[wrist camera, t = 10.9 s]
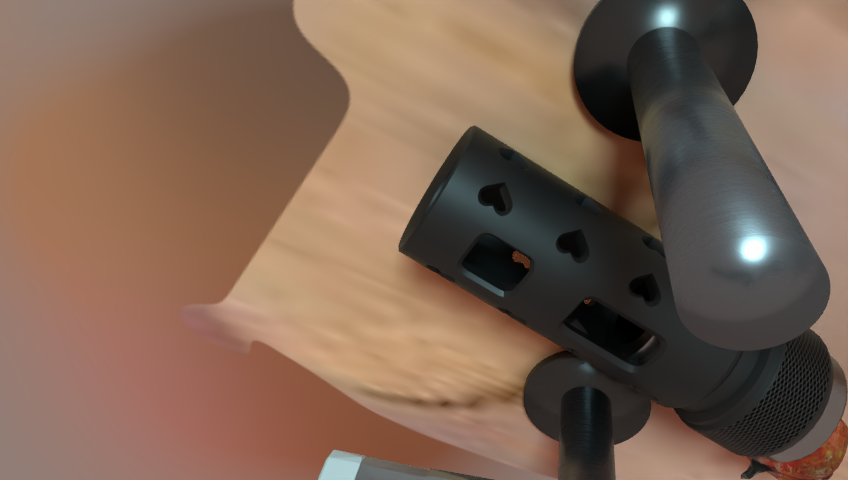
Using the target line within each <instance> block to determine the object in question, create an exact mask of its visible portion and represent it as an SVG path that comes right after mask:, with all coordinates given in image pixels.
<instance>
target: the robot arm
mask: <svg viewBox="0 0 848 480" xmlns="http://www.w3.org/2000/svg"><path fill="white" fill-rule="evenodd" d="M318 480H493V479H487V478H481V477H475V476H470V475H464V474H459V473H453V472H447V471H442V470H435V469H424V468H420V467H415V466H410V465H405V464H401V463H396V462H391V461H386V460H382V459H377V458H373V457H368V456H364V455H359V454H354V453H349V452H344V451H338V450H333V451H332V453H331V454H330V455H329V456H328V458H327V459H326V461H325V464H324V466H323V468H322V471H321V473H320V475H319V478H318Z"/></svg>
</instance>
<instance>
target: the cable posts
mask: <svg viewBox="0 0 848 480" xmlns="http://www.w3.org/2000/svg"><path fill="white" fill-rule="evenodd" d="M757 50H758V41H757V32H756V27H755V23H754V20H753V18H752V15H751V12H750V11H749V9H748V7H747V6H746V4H745V2H744V1H743V0H600V1H599V2H598V3H597V5H596V6H595V7H594V8H593V9H592V11H591V12H590V14H589V15H588V17H587V19H586V21H585V23H584V25H583V26H582V28H581V31H580V34H579V37H578V40H577V44H576V49H575V59H574V71H575V80H576V86H577V89H578V92H579V95H580V97H581V99H582V101H583V103H584V105H585V107H586V108H587V110H588V111H589V112H590V114H591V115H592V116H593V117H594V118H595V119H596V120H597V121H598V122H599V123H600V124H601V125H603V126H604V127H605V128H607V129H608V130H610V131H612V132H613V133H615V134H618V135H620V136H622V137H625V138H628V139H632V140H636V141H642V146H643V150H644V155H645V160H646V165H647V170H648V175H649V180H650V184H651V189H652V194H653V199H654V204H655V209H656V214H657V218H658V223H659V228H660V233H661V238H662V243H663V248H664V252H665V257H666V262H667V267H668V272H669V277H670V282H671V286H672V291H673V296H674V301H675V306H676V310H677V313H678V316H679V318H680V320H681V321H682V323H683V324H684V326H685V327H686V328H687V329H688V330H689V331H690V332H691V333H692V334H693V335H695V336H696V337H697V338H699V339H701V340H703V341H704V342H706V343H709V344H711V345H713V346H717V347H720V348H724V349H729V350H738V351H751V350H761V349H766V348H771V347H774V346H778V345H781V344H783V343H786V342H788V341H790V340H792V339H794V338H796V337H798V336H799V335H801V334H802V333H804V332H805V331H806V330H808V329H809V328H810V327H811V326H812V325H813V324H814V323H815V322H816V321H817V320H818V319H819V317H820V316H821V315H822V313H823V311H824V310H825V308H826V306H827V303H828V300H829V295H830V280H829V276H828V273H827V271H826V268H825V266H824V265H823V263H822V261H821V259H820V258H819V256H818V254H817V252H816V251H815V249H814V247H813V245H812V244H811V242H810V240H809V239H808V237H807V235H806V233H805V232H804V230H803V228H802V226H801V225H800V223H799V221H798V219H797V218H796V216H795V214H794V212H793V211H792V209H791V207H790V205H789V204H788V202H787V200H786V198H785V197H784V195H783V193H782V191H781V190H780V188H779V186H778V184H777V183H776V181H775V179H774V177H773V176H772V174H771V172H770V170H769V169H768V167H767V165H766V163H765V162H764V160H763V158H762V156H761V155H760V153H759V151H758V149H757V148H756V146H755V144H754V142H753V141H752V139H751V137H750V135H749V134H748V132H747V130H746V128H745V127H744V125H743V123H742V121H741V120H740V118H739V116H738V114H737V113H736V111H735V109H734V107H733V106H734V105H735V103H736V102H737V101H738V100H739V98H740V97H741V95H742V94H743V93H744V91H745V89H746V87H747V85H748V83H749V81H750V79H751V76H752V74H753V71H754V68H755V63H756V59H757ZM524 407H525V410H526V413H527V415H528V417H529V418H530V420H531V421H532V423H533V424H534V425H535V426H536V427H537V428H538V429H539V430H540V431H542V432H543V433H544V434H546V435H547V436H549V437H551V438H553V439H555V440H557V441H559V469H558V480H616V476H615V458H614V445H616V444H618V443H621V442H624V441H626V440H628V439H630V438H631V437H633V436H634V435H636V434H637V433H638V432H639V431H640V430H641V429H642V428H643V427H644V425H645V424H646V422H647V420H648V418H649V416H650V411H651V401H650V399H649V398H647V397H646V396H644V395H642V394H641V393H639V392H638V391H636V390H635V389H632V388H630V387H629V386H627V385H625V384H624V383H622V382H620V381H619V380H617V379H615V378H613V377H612V376H610V375H608V374H607V373H605V372H603V371H602V370H600V369H598V368H596V367H595V366H593V365H591V364H590V363H588V362H586V361H585V360H583V359H581V358H579V357H578V356H576V355H575V354H573V353H572V352H569V351H563V352H560V353H556V354H554V355H551V356H549V357H547V358H546V359H544V360H542V361H541V362H540V363H538V364H537V365H536V366H535V367H534V368H533V369H532V371H531V372H530V374H529V375H528V377H527V380H526V383H525V389H524Z"/></svg>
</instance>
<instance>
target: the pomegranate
mask: <svg viewBox="0 0 848 480" xmlns="http://www.w3.org/2000/svg"><path fill="white" fill-rule="evenodd" d="M847 445H848V428H847V426H846V424H845V423H844V421H843V420H842V419H841V420H840V422H839V424H838V426H837V428H836V429H835V431H834V432H833V434H832V435H831V437H830V438H829V439H828V440H827V441H826V442H825V443H824V444H823V445H822V446H821V447H820V448H819V449H818V450H816V451H815V452H814V453H812V454H810V455H808V456H806V457H804V458H803V459H799V460H796V461H792V462H776V461H770V460H768V459H765V458H763V457H747V456H746V457H747V458H748V459H749V460H750V461H751V464H750V466H749V468H748V470H747V471H745V472H744V473H743V474H742V475H741V479H743V478H745V479H750V478H752V477H753V476H754V475H756V474H758V473H761V472H764V471H766V472H768V473H770V474H772V475H773V476H774V477H776V478H777V479H778V480H828V479H829V478H830V477H831V476H832V475H833V472H834V471H835V470H836V469H837V468H838V467H839V465H840V463H841V462H842V460H843V458H844V456H845V453H846V449H847Z"/></svg>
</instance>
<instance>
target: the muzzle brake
mask: <svg viewBox="0 0 848 480" xmlns="http://www.w3.org/2000/svg"><path fill="white" fill-rule="evenodd" d="M399 251H400V252H401V253H403V254H405V255H406V256H408V257H410V258H411V259H413V260H415V261H417V262H418V263H420V264H422V265H423V266H425V267H427V268H428V269H430V270H432V271H434V272H436V273H438V274H439V275H441V276H442V277H444V278H445V279H447V280H449V281H450V282H452V283H454V284H456V285H457V286H459V287H461V288H462V289H464V290H466V291H467V292H469V293H471V294H473V295H474V296H476V297H478V298H479V299H481V300H483V301H484V302H486V303H488V304H490V305H491V306H493V307H495V308H496V309H498V310H500V311H501V312H503V313H505V314H507V315H509V316H510V317H512V318H513V319H515V320H517V321H518V322H520V323H522V324H523V325H525V326H527V327H529V328H530V329H532V330H534V331H535V332H537V333H539V334H540V335H542V336H544V337H546V338H547V339H549V340H551V341H552V342H554V343H556V344H557V345H559V346H561V347H562V348H564V349H566V350H568V351H569V352H572V353H573V354H575V355H576V356H578V357H579V358H581V359H583V360H585V361H586V362H588V363H590V364H591V365H593V366H595V367H596V368H598V369H600V370H602V371H603V372H605V373H607V374H608V375H610V376H612V377H613V378H615V379H617V380H619V381H620V382H622V383H624V384H625V385H627V386H629V387H630V388H632V389H635V390H636V391H638V392H639V393H641V394H642V395H644V396H646V397H647V398H649V399H651V400H652V401H654V402H656V403H658V404H660V405H662V406H664V407H669V408H674V410H675V411H676V413H677V414H678V415H679V417H680V418H681V420H682V421H683V422H684V423H685V424H686V425H687V426H689V427H690V428H692V429H693V430H695V431H697V432H698V433H700V434H702V435H703V436H705V437H707V438H709V439H710V440H712V441H714V442H715V443H717V444H719V445H720V446H722V447H724V448H726V449H727V450H729V451H731V452H733V453H735V454H737V455H741V456H747V457H763V458H765V459H768V460H770V461H776V462H792V461H796V460H799V459H803V458H804V457H806V456H808V455H810V454H812V453H814V452H815V451H816V450H818V449H819V448H820V447H821V446H822V445H823V444H824V443H825V442H826V441H827V440H828V439H829V438H830V437H831V435H832V434H833V432H834V431H835V429H836V428H837V426H838V424H839V422H840V420H841V418H842V416H843V413H844V410H845V406H846V402H847V393H848V390H847V380H846V377H845V374H844V372H843V370H842V368H841V367H840V365H839V364H838V362H837V361H836V360H835V359H834V358H833V357H831V356H830V355H829V352H828V349H827V347H826V345H825V344H824V342H823V341H822V339H821V338H820V337H819V336H818V335H817V334H816V333H815V332H813V331H812V330H811V329H808V330H806V331H805V332H804V333H802V334H801V335H799V336H798V337H796V338H794V339H792V340H790V341H788V342H786V343H783V344H781V345H778V346H774V347H771V348H766V349H761V350H751V351H738V350H729V349H724V348H720V347H717V346H713V345H711V344H709V343H706V342H704V341H703V340H701V339H699V338H697V337H696V336H695V335H693V334H692V333H691V332H690V331H689V330H688V329H687V328H686V327H685V326H684V324H683V323H682V321H681V320H680V318H679V316H678V313H677V310H676V306H675V301H674V296H673V291H672V286H671V282H670V277H669V272H668V267H667V262H666V257H665V252H664V248H663V243H662V242H661V241H660V240H658V239H656V238H655V237H653V236H652V235H650V234H648V233H647V232H645V231H644V230H642V229H640V228H639V227H637V226H636V225H634V224H632V223H631V222H629V221H628V220H626V219H624V218H623V217H621V216H620V215H618V214H616V213H615V212H613V211H612V210H610V209H608V208H607V207H605V206H603V205H602V204H600V203H599V202H597V201H595V200H594V199H592V198H591V197H589V196H587V195H586V194H584V193H583V192H581V191H579V190H578V189H576V188H575V187H573V186H571V185H570V184H568V183H567V182H565V181H563V180H562V179H560V178H559V177H557V176H555V175H554V174H552V173H551V172H549V171H547V170H546V169H544V168H543V167H541V166H539V165H538V164H536V163H535V162H533V161H531V160H530V159H528V158H527V157H525V156H523V155H522V154H520V153H519V152H517V151H515V150H514V149H512V148H511V147H509V146H507V145H506V144H504V143H503V142H501V141H499V140H498V139H496V138H495V137H493V136H491V135H490V134H488V133H486V132H485V131H483V130H482V129H480V128H478V127H477V126H472V127H470V128H469V129H468V130H467V131H466V132H465V133H464V134H463V136H462V137H461V138H460V140H459V141H458V142H457V144H456V145H455V147H454V148H453V150H452V151H451V153H450V154H449V156H448V157H447V159H446V160H445V162H444V163H443V165H442V166H441V168H440V169H439V171H438V173H437V174H436V176H435V177H434V179H433V181H432V182H431V184H430V186H429V187H428V189H427V191H426V192H425V194H424V196H423V197H422V199H421V201H420V203H419V204H418V206H417V208H416V210H415V212H414V213H413V215H412V217H411V219H410V221H409V223H408V225H407V227H406V229H405V231H404V233H403V235H402V238H401V240H400V243H399ZM514 251H518V252H520V253H521V254H523V255H525V256H526V257H527V258H528V259H529V260H530V268H525V267H524V265H523V263H521V262H514V260H513V258H512V254H513V252H514ZM587 299H591V301H590V303H588V304H585V303H584V300H587Z"/></svg>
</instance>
